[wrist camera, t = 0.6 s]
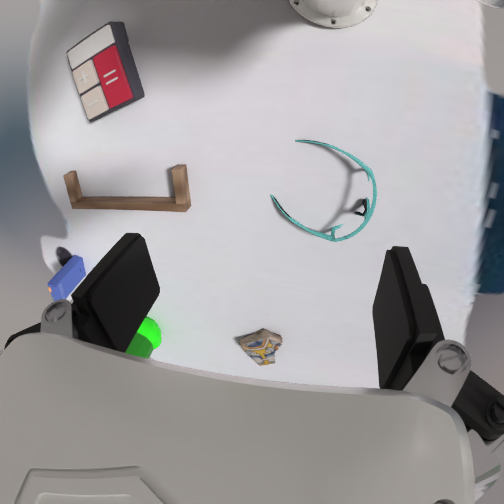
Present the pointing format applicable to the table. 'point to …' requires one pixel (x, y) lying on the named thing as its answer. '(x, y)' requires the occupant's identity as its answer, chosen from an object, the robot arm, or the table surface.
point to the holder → (134, 203)
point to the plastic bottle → (145, 339)
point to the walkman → (67, 279)
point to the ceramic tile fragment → (261, 346)
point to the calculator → (105, 71)
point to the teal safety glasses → (366, 213)
